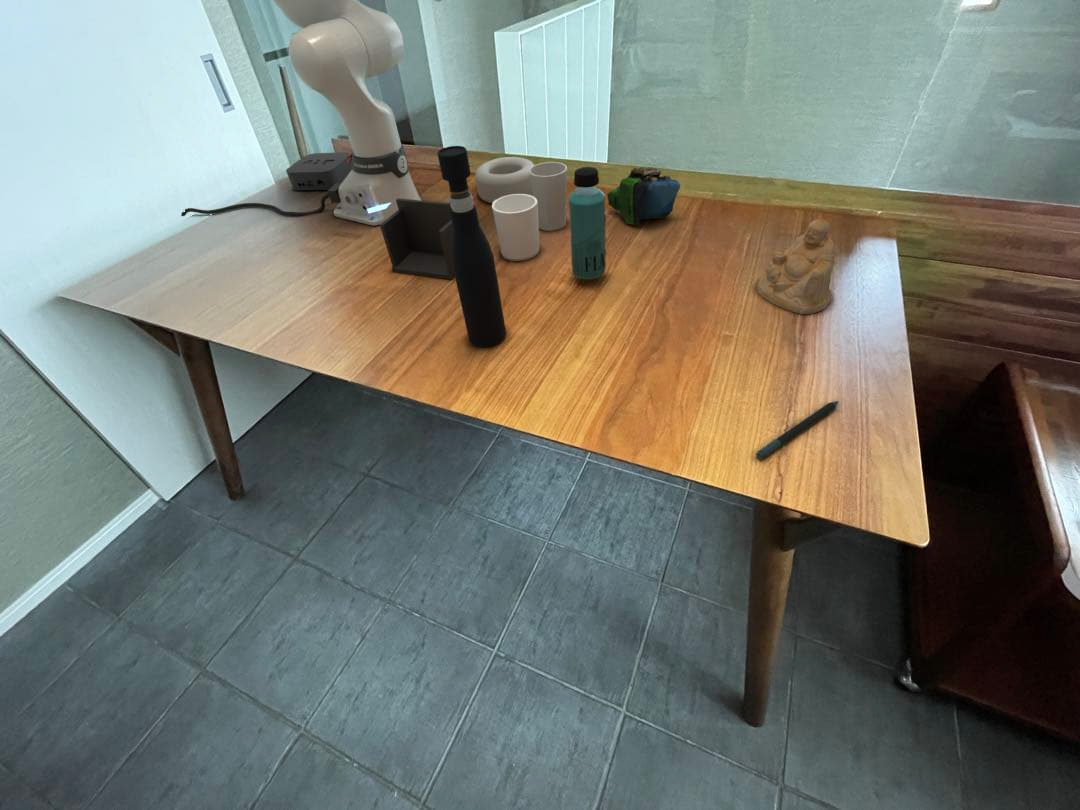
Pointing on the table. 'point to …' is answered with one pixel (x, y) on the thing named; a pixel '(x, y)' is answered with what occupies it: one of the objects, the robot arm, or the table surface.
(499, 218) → the mug
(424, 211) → the book rack
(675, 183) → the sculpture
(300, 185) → the streaming box
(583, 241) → the beverage bottle
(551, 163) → the cup
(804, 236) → the statue
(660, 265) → the table surface
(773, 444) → the pen
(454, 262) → the wine bottle
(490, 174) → the thick torus
